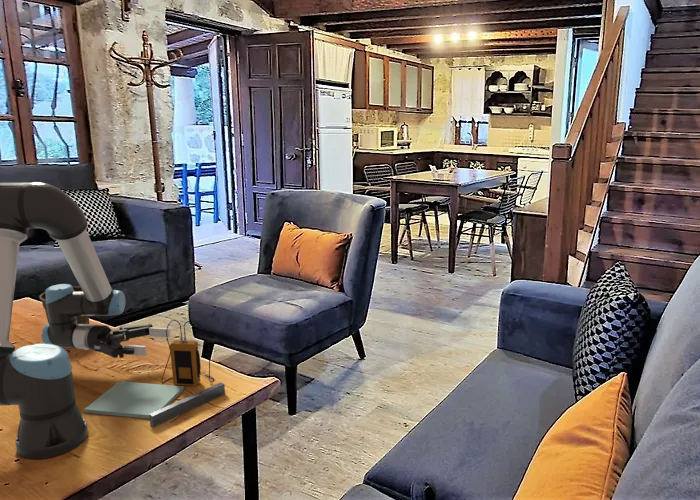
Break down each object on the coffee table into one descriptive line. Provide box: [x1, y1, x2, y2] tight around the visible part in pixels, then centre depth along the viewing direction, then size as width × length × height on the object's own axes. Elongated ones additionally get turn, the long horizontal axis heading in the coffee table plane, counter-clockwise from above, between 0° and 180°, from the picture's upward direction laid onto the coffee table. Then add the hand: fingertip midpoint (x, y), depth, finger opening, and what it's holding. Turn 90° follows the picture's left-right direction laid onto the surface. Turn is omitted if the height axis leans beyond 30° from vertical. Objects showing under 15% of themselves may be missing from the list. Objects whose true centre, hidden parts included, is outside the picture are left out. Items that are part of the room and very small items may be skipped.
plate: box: [83, 380, 184, 420], centre depth 149 cm, size 16×20×1 cm
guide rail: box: [149, 382, 226, 428], centre depth 145 cm, size 22×2×3 cm, turn 140°
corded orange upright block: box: [161, 319, 215, 387], centre depth 160 cm, size 15×10×20 cm
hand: (158, 341), depth 161 cm, fingers open, 13 cm apart
